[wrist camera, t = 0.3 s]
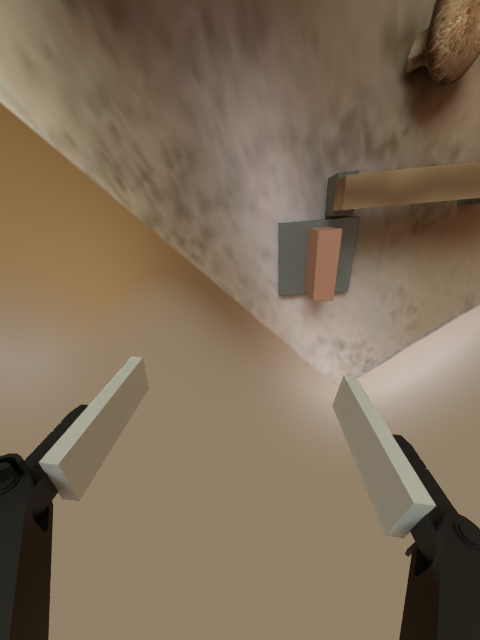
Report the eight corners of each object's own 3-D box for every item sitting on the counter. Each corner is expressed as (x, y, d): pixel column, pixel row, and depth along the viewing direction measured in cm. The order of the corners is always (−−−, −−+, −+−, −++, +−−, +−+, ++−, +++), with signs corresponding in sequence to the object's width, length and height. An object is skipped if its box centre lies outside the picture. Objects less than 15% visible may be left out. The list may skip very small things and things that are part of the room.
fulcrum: (278, 223, 34) (284, 225, 27) (356, 216, 33) (380, 217, 26) (278, 293, 39) (283, 308, 33) (345, 290, 38) (363, 305, 32)
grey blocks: (328, 178, 31) (338, 173, 27) (491, 160, 28) (525, 153, 25) (325, 216, 33) (333, 216, 29) (476, 202, 31) (505, 201, 27)
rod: (335, 179, 27) (346, 175, 24) (524, 160, 25) (563, 152, 22) (332, 210, 29) (342, 210, 26) (509, 194, 27) (544, 191, 24)
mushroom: (387, 71, 23) (468, 11, 18) (407, -8, 23) (497, -93, 17) (415, 118, 27) (486, 81, 22) (432, 53, 27) (510, -1, 22)
